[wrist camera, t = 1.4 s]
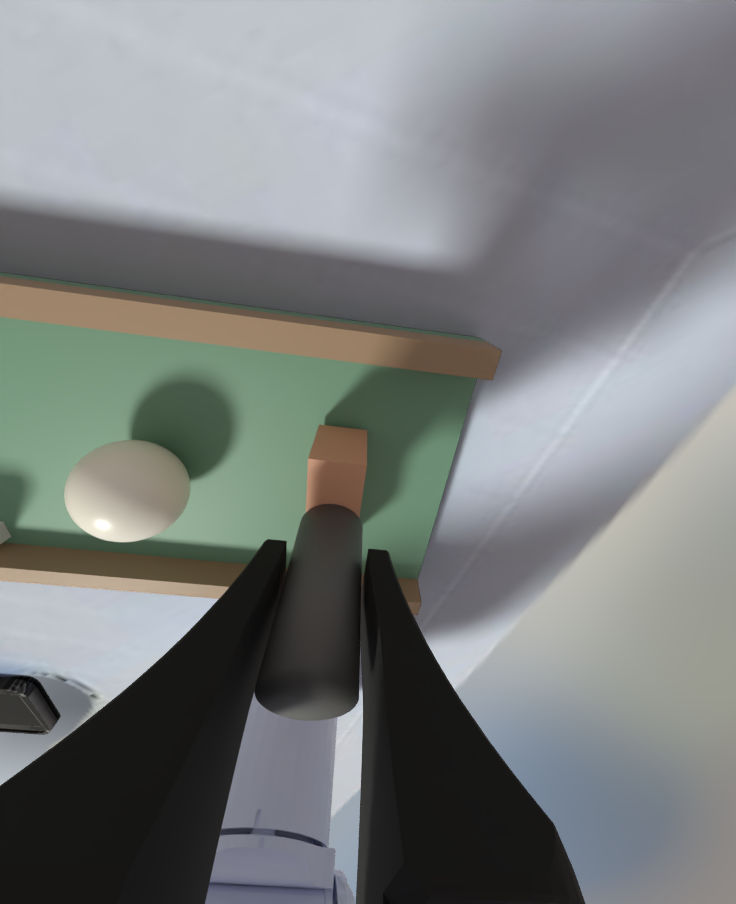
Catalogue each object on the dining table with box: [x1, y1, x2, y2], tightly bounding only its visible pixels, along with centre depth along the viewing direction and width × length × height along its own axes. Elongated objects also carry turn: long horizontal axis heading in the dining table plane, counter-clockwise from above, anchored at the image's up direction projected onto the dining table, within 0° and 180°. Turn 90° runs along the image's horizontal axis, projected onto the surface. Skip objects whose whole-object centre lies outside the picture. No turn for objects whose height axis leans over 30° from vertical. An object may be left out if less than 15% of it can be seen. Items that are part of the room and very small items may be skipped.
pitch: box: [0, 272, 502, 615], centre depth 14 cm, size 14×28×2 cm, turn 83°
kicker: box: [254, 425, 367, 721], centre depth 11 cm, size 6×2×8 cm, turn 173°
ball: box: [64, 440, 190, 542], centre depth 13 cm, size 4×4×4 cm
